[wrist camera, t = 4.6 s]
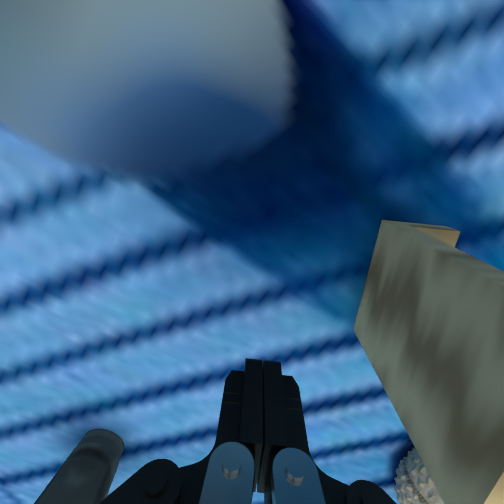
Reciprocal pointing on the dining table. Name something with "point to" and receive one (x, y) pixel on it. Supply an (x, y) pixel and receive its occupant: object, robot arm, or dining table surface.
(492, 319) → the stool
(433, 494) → the sea urchin shell
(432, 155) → the dining table surface
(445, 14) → the dining table surface
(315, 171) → the dining table surface
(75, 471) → the beverage cup
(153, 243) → the dining table surface
